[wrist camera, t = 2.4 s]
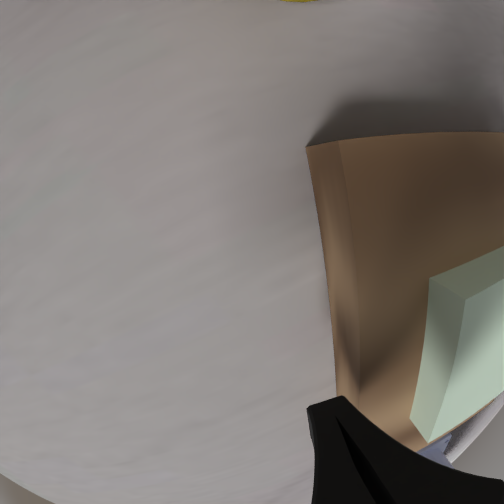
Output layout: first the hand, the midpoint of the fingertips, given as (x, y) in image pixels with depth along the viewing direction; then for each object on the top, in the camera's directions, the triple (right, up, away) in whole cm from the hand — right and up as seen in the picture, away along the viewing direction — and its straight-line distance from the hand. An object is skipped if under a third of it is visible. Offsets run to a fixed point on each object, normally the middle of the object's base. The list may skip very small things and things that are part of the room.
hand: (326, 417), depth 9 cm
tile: (+7, +2, +1) cm, 8 cm away
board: (+7, +3, +4) cm, 8 cm away
